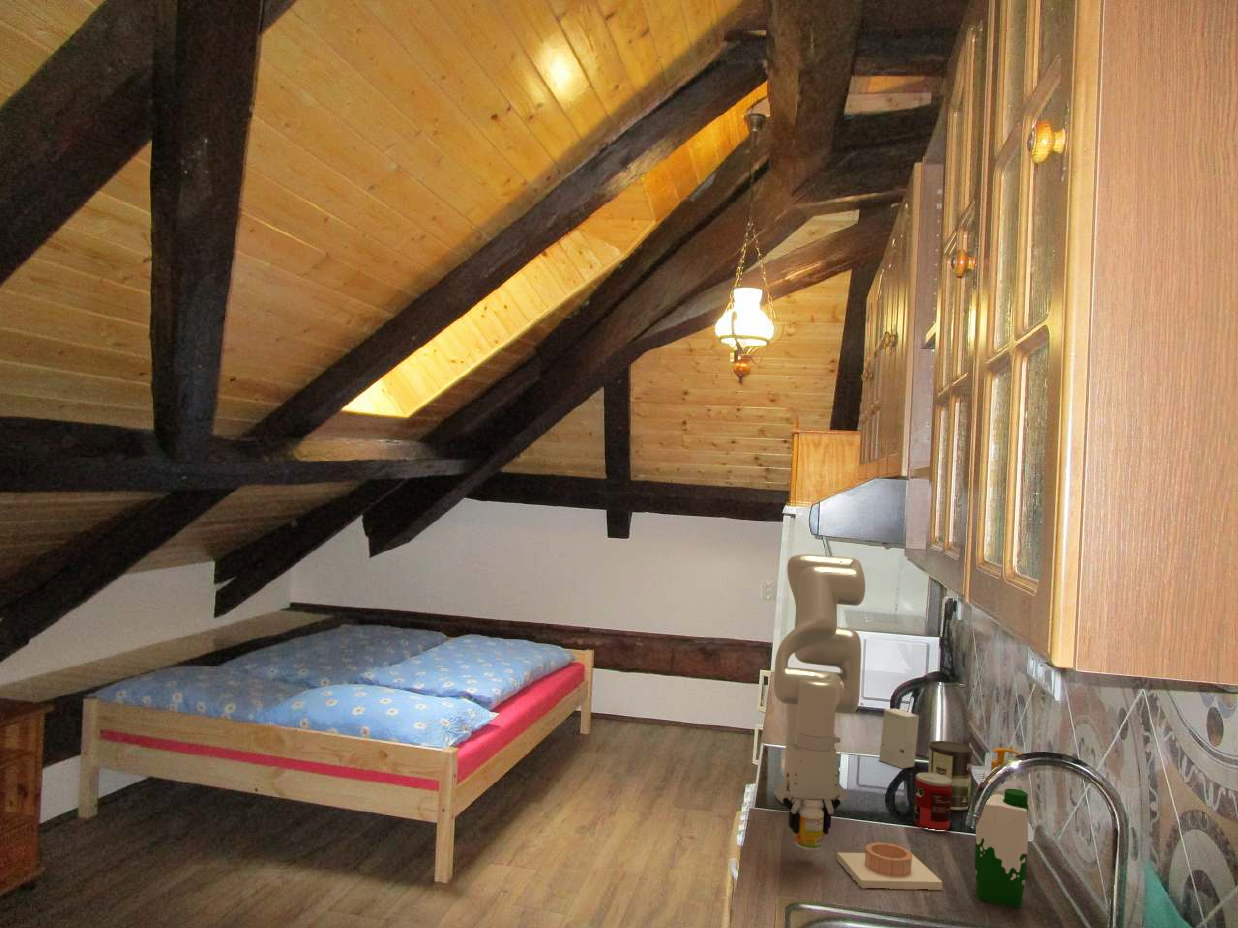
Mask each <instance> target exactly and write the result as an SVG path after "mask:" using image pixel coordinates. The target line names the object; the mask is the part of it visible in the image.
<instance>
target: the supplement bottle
mask: <svg viewBox="0 0 1238 928" xmlns="http://www.w3.org/2000/svg"><path fill="white" fill-rule="evenodd" d="M801 804H802V805H800V806H799V808H798V813H799V815H800V816H799V832H798V833H797V834H795V833H794V843H795V844H794V845H796V846H797V847H798V848H800V849H803V850H805V851H810V852H811V851H819V850H821V849H822V847H823V837H824V833H823V823H824V811H823V810H822V808H820V806H821V800H806V799H802V800H801Z"/></svg>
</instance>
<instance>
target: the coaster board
mask: <svg viewBox="0 0 1238 928" xmlns="http://www.w3.org/2000/svg"><path fill="white" fill-rule="evenodd" d="M865 853H866V852H836V861H837V863H838V864H839V865H840V866H841V867H842V866H843V867H844V868H845V869H846V870H847V871H846V870H845V869H844V868H843V867H842V868H843V869H844V870H845V871H846V872H847V874H848V873H849V874H850V875H851V876H852V877H851V876H850V875H849V874H848V875H849V876H850V877H851V878H852V880H853V881H854V880H855V881H856V882H857V883H858V884H857V883H856V882H855V881H854V882H855V883H856V884H857V885H858V886H859V885H860V886H861V887H878V888H879V887H880V888H885V889H884V890H917V889H928V891H929V890H930V891H934V890H935V891H942V890H943V881H942V880H941V879H940V878H938V876H937V875H936V874H935V873H934V872H932V871H931V870H930V869H929V868H928V867H927V866H926V865H925V864H924V863H923V862H921V861H920V860H919V858H917V857H916V856H915V855H914V854H913V853H912V870H911V873H910V874H909V875H905V876H889V875H885V874H880V873H878V872H875V871H873V870H871V869H869V868H868V867H867V866H866V865H865ZM860 886H859V887H860ZM886 888H887V889H886ZM888 888H889V889H888ZM913 888H914V889H913Z"/></svg>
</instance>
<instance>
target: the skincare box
mask: <svg viewBox="0 0 1238 928" xmlns="http://www.w3.org/2000/svg"><path fill="white" fill-rule="evenodd" d="M919 720H920V715H918V714H916V713H915V714H914V713H912V712H909V711H906V710H903V709H899V708H886V709H884V712H883V721H882V730H881V731H882V732H881V741H880V751H879V762H881V763H885V764H888V765H890V766H894V767H897V768H900V769H908V768H913V767H915V764H916V763H915V762H916V761H915V760H916V752H917V751H916V750H917V743H918V731H919V723H920V721H919Z"/></svg>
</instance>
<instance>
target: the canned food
mask: <svg viewBox="0 0 1238 928" xmlns="http://www.w3.org/2000/svg"><path fill="white" fill-rule="evenodd" d="M914 782H915V788H914V805H913V807H914V808H913V821H914V824H915V825H916V826H917V827H918V828H920V827H922V828H928V829H935V830H947V831H949V829H950V827H951V812H952V811H951V796H952V780H951V779H949V778H948V777H945V776H943V775H939V774H934V773H928V772H918V773H917V774H915V781H914ZM922 828H921V829H922Z"/></svg>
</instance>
